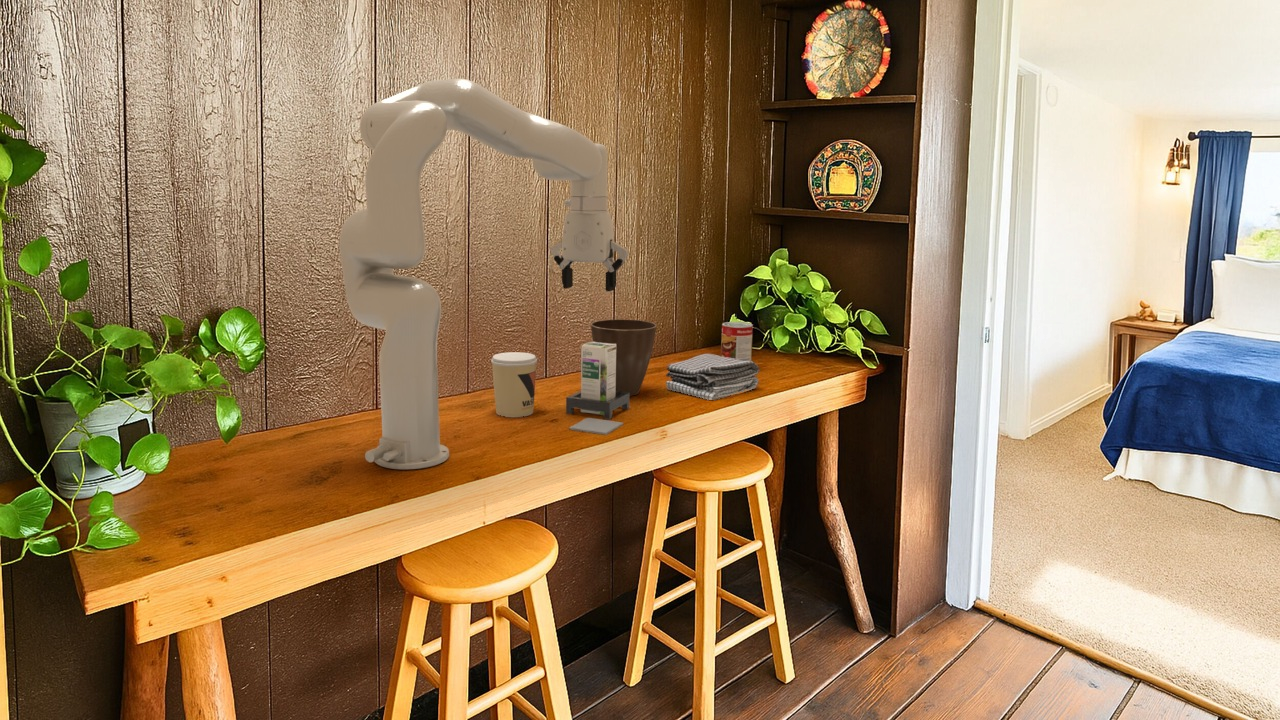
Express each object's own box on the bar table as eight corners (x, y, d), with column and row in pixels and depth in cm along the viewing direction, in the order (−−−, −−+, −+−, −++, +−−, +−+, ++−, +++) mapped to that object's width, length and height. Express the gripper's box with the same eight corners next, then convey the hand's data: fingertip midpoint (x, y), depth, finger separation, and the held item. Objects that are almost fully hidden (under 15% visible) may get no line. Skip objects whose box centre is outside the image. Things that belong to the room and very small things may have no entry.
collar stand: (609, 419, 177) (609, 403, 176) (566, 413, 181) (566, 397, 180) (629, 408, 186) (629, 392, 185) (587, 402, 190) (587, 387, 189)
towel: (760, 390, 205) (762, 358, 203) (709, 403, 192) (710, 368, 191) (713, 379, 216) (714, 348, 214) (661, 390, 203) (661, 357, 202)
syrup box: (579, 412, 182) (580, 344, 179) (592, 406, 187) (593, 340, 184) (604, 416, 179) (604, 347, 176) (616, 409, 185) (617, 342, 182)
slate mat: (606, 434, 166) (606, 432, 166) (569, 429, 169) (569, 427, 169) (623, 424, 173) (623, 422, 173) (587, 419, 176) (587, 417, 176)
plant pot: (599, 383, 208) (600, 317, 205) (660, 387, 205) (661, 320, 202) (582, 398, 194) (583, 327, 190) (648, 402, 191) (649, 331, 187)
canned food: (735, 365, 231) (737, 320, 228) (756, 370, 225) (759, 325, 223) (714, 368, 226) (715, 323, 224) (735, 374, 220) (737, 327, 218)
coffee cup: (528, 420, 175) (528, 362, 173) (485, 416, 177) (484, 359, 175) (543, 408, 184) (542, 353, 182) (501, 405, 186) (500, 350, 184)
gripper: (542, 205, 176) (543, 289, 179) (620, 207, 169) (620, 294, 173) (559, 204, 182) (559, 284, 186) (635, 206, 176) (634, 289, 180)
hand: (588, 289), depth 180 cm, fingers open, 9 cm apart
